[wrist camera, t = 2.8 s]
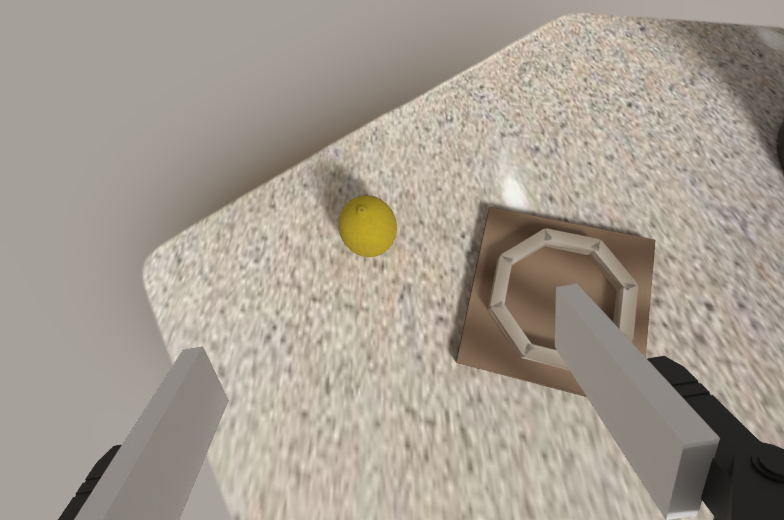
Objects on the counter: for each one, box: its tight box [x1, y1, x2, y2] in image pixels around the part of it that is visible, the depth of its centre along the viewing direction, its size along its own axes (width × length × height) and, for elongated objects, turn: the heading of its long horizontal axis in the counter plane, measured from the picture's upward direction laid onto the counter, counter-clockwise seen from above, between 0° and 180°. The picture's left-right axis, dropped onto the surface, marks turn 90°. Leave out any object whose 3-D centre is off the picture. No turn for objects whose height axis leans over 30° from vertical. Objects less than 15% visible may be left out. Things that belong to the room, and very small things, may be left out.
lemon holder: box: [456, 207, 655, 397], centre depth 38 cm, size 16×16×3 cm
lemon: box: [339, 195, 397, 257], centre depth 39 cm, size 6×6×8 cm
